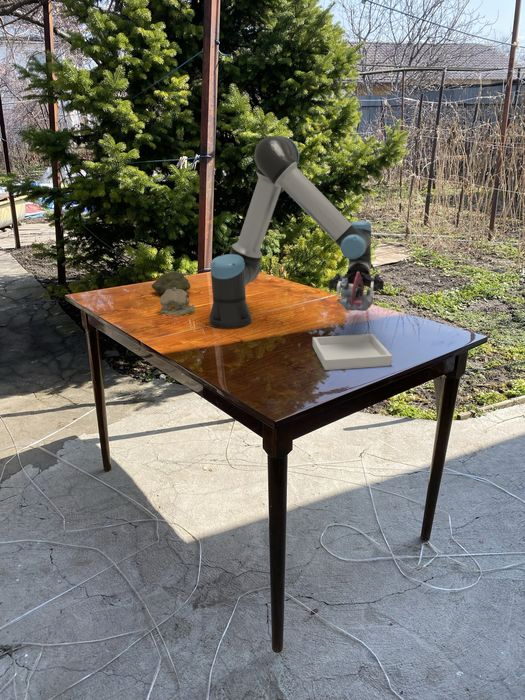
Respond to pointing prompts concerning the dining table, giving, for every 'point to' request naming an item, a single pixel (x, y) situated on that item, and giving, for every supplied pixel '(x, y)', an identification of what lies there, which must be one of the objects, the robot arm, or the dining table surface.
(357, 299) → the brake caliper
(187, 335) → the dining table surface
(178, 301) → the ceramic model
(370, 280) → the robot arm
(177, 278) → the decorative rock
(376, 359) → the tray
